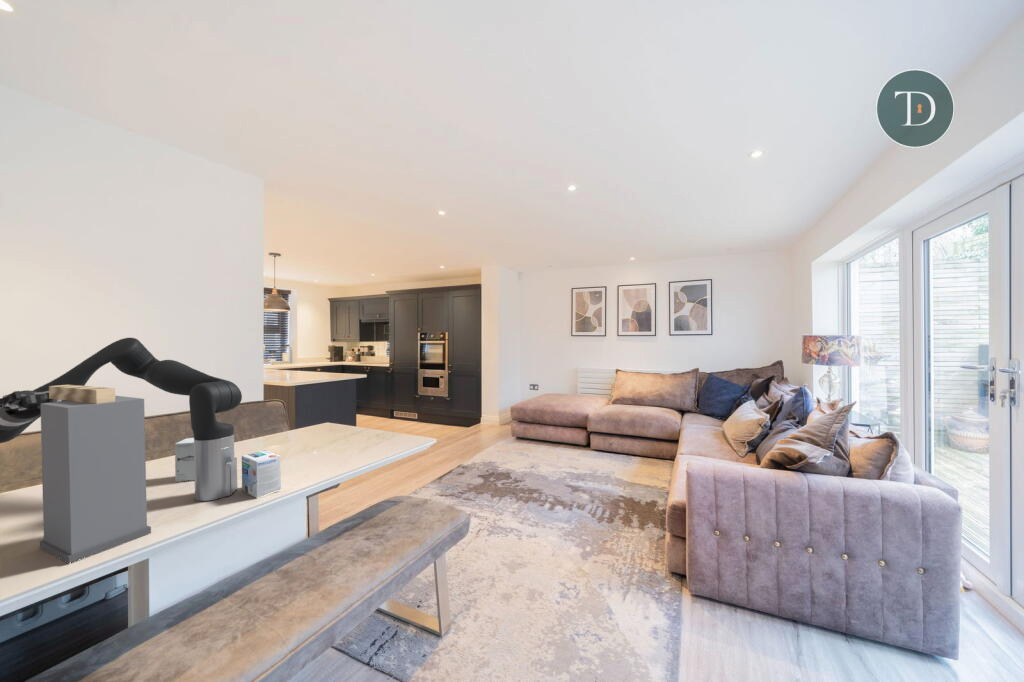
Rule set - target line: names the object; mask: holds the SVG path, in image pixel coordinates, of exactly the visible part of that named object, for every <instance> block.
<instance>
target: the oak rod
mask: <svg viewBox="0 0 1024 682" xmlns="http://www.w3.org/2000/svg"><path fill="white" fill-rule="evenodd" d="M115 396H116V388H115V387H101V386H91V385H89V386H88V385H85V386H78V385H58V386H49V399H57V400H66V401H75V402H85V403H94V404H99V403H107V402H115Z"/></svg>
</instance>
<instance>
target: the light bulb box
mask: <svg viewBox="0 0 1024 682" xmlns="http://www.w3.org/2000/svg"><path fill="white" fill-rule="evenodd" d="M281 456H282V455H279V454H276V453H273V452H271V451H267V450H259V451H256V452H252V453H249V454H244V455H241V491H242V490H243V491H242V492H244V491H245V492H244V493H246V492H247V493H246V494H248V493H249V494H250V496H251V495H252V496H251V497H253V496H254V497H253V498H255V497H256V498H258V497H261V496H264V495H266V494H268V493H271V492H274V491H277V490H280V489H281V490H282V483H281V482H282V480H281V476H282V475H281V474H282V473H281V471H282V470H281ZM249 494H248V495H249ZM264 497H265V496H264ZM256 498H255V499H256ZM261 498H262V497H261ZM258 499H259V498H258Z"/></svg>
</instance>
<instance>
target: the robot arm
mask: <svg viewBox="0 0 1024 682" xmlns="http://www.w3.org/2000/svg"><path fill="white" fill-rule="evenodd" d="M109 363H110V364H112V365H113V366H114V367H115V368H116V369H117V370H118V371H120V372H122V374H124V375H128V376H129V377H134V378H137V379H141V380H142V381H143V380H144V381H145V382H147V383H149V384H150V385H152V386H154V387H156V389H157V388H158V389H160V390H161V391H164V392H166V393H170V394H174V395H181V396H188V397H189V399H188V402H189V404H188V405H189V414H190V425H191V430H192V433H193V438H194V469H195V480H194V499H195V501H198V502H206V501H215V500H218V498H219V499H222V498H225V496H226V497H231V496H232V495H233V494H234V493H233V492H236V490H237V489H238V458H237V457H235V427H234V425H233V424H232V423H229V422H228V423H227V422H221V421H218V420H217V417H216V414H220V413H224V412H228V411H232V410H234V409H236V408H237V407H238V406H239V405H240V404H241V402H242V399H243V396H242V395H243V394H242V391H241V389H240V388H239V387H238V386H239V385H237V384H236V383H234V382H232V381H230V380H227V379H223V378H219V377H215V376H212V375H210V374H207V373H205V372H202V371H200V370H198V369H195V368H193V367H191V366H189V365H186V364H184V363H182V362H180V361H177V360H174V359H163V360H159V359H158V358H156V357H155V356H154V355H153V353H151V352H150V350H148V349H147V347H145V345H144V344H143V343H142V342H141V341H140V340H139V339H138V338H135V337H124V338H120V339H119V340H116V341H113V342H111V343H109V344H108V345H107V346H105V347H103V348H101V349H100V350H98V351H97V352H95V353H94V354H91V356H89V357H87V358H86V359H84V360H83V361H82V362H80V363H79V364H77V365H75V366H73V368H71V369H70V370H68V371H66V372H65V373H63V374H62V375H60V376H59V377H56V378H55V379H53V380H50V381H49V382H47V383H45V384H43V385H40V386H39V387H37V388H35V389H33V390H30V389H29V390H28V389H27V390H16V391H13V392H11V393H9V394H5V395H2V397H0V444H3V443H6V442H9V441H12V440H13V439H15V438H17V437H18V436H19V435H21V434H22V433H23V432H24V431H25V430H26V429H27V428H29V427H30V426H31V425H32V424H33V423H34V422H35V421H37V420H38V419H41V405H40V404H42V403H51V402H61V401H66V400H57V399H49V386H58V385H78V386H86V384H87V383H88V381H89V380H90V379H91V377H92V376H93V374H95V373H96V372H97V371H98V370H99V369H101V368H102V367H103V366H105V365H107V364H109ZM232 493H233V494H232ZM230 495H231V496H230Z"/></svg>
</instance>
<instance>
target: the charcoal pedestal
mask: <svg viewBox="0 0 1024 682" xmlns="http://www.w3.org/2000/svg"><path fill="white" fill-rule="evenodd" d="M40 405H41V417H40V434H41V435H40V436H41V476H42V477H41V478H42V481H41V482H42V484H41V485H42V518H43V520H42V521H43V540H40V541H39V549H41V550H42V551H45V552H46V553H48V554H50V555H51V554H52V556H53V557H55V556H56V557H55V558H57V557H58V558H57V559H59V558H60V559H59V560H61V559H62V560H61V561H63V560H64V561H66V562H68V563H70V562H73V561H76V560H79V559H81V558H84V557H87V558H89V557H92V556H94V555H97V554H99V553H102V552H105V551H108V550H109V549H112V548H115V546H116V547H118V546H120V544H121V545H124V544H126V543H129V542H132V541H133V540H137V539H139V538H142V537H145V536H147V535H150V534H152V526H149V525H148V513H147V512H148V511H147V508H148V507H147V505H148V504H147V471H146V469H147V468H146V465H147V463H146V425H145V424H146V423H145V416H146V415H145V398H140V397H133V396H132V397H131V396H121V395H115V402H107V403H99V404H94V403H85V402H75V401H61V402H51V403H42V404H40ZM149 533H150V534H149ZM123 543H124V544H123ZM117 545H118V546H117ZM91 555H92V556H91ZM88 556H89V557H88ZM84 559H85V558H84ZM81 560H82V559H81ZM64 561H63V562H64ZM79 561H80V560H79ZM66 562H65V563H66ZM76 562H77V561H76ZM68 563H67V564H68ZM73 563H74V562H73Z"/></svg>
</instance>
